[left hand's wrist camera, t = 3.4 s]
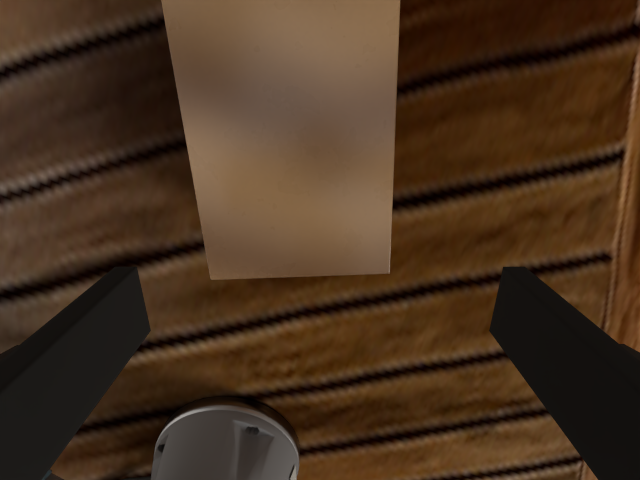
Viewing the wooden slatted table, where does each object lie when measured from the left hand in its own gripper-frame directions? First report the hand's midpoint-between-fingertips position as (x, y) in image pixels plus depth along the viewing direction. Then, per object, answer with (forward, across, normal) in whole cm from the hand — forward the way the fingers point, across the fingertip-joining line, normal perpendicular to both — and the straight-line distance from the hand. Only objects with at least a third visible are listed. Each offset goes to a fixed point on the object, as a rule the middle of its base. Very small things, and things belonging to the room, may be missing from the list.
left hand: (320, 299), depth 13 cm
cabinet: (+16, +2, -7) cm, 18 cm away
